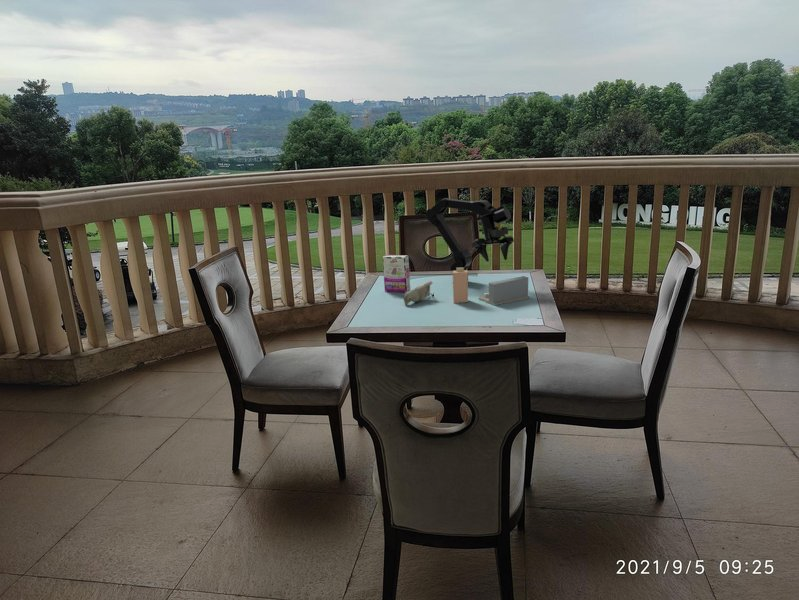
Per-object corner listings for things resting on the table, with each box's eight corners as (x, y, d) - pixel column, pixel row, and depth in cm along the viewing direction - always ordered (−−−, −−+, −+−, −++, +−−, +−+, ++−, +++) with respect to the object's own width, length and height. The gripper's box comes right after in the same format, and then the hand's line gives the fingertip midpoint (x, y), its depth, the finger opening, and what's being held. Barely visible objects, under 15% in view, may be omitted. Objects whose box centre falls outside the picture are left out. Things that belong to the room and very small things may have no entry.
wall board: (478, 299, 230) (478, 279, 228) (512, 292, 238) (512, 272, 235) (494, 305, 221) (494, 284, 218) (529, 298, 228) (529, 277, 226)
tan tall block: (453, 300, 231) (452, 266, 227) (467, 300, 230) (467, 266, 226) (453, 303, 227) (452, 269, 223) (467, 302, 226) (467, 268, 222)
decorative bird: (400, 304, 229) (399, 287, 227) (427, 296, 239) (427, 279, 237) (409, 307, 225) (408, 289, 223) (436, 298, 235) (436, 281, 233)
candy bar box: (410, 289, 250) (409, 255, 245) (406, 292, 246) (405, 257, 241) (388, 288, 254) (386, 254, 249) (384, 291, 250) (382, 256, 245)
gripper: (479, 221, 231) (487, 256, 228) (516, 219, 238) (524, 253, 235) (467, 231, 241) (475, 264, 238) (503, 228, 248) (511, 261, 245)
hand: (496, 260), depth 239 cm, fingers open, 9 cm apart
